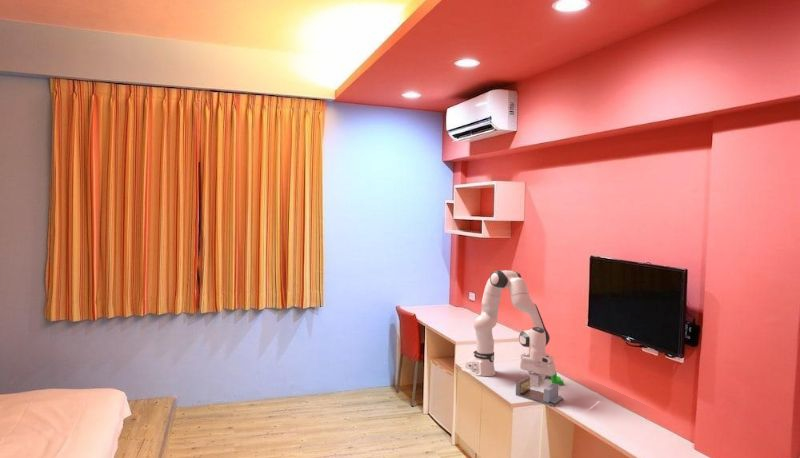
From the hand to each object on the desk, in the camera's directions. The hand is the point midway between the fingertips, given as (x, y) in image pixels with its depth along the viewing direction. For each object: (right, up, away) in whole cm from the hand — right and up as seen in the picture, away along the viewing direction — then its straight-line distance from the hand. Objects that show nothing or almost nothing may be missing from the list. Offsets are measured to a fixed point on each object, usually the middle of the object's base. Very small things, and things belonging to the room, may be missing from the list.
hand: (537, 380), depth 283 cm
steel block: (0, -2, 0) cm, 2 cm away
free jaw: (+7, -9, -6) cm, 13 cm away
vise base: (+1, -10, -1) cm, 10 cm away
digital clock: (+13, -9, +37) cm, 40 cm away
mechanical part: (+20, -10, +27) cm, 35 cm away
